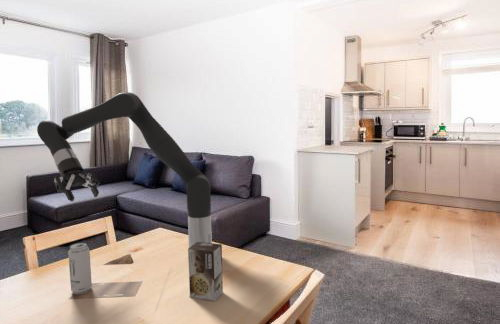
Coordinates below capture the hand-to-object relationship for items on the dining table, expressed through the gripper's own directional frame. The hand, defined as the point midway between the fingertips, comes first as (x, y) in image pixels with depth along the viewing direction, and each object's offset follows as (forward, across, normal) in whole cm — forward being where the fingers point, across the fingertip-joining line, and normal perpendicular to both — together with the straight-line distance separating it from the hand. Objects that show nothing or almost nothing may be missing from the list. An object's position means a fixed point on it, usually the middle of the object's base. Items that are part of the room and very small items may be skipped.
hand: (85, 197), depth 122 cm
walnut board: (+33, -4, +7) cm, 34 cm away
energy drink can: (+28, -9, +11) cm, 31 cm away
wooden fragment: (+21, +8, +19) cm, 30 cm away
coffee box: (+52, +15, -11) cm, 55 cm away
